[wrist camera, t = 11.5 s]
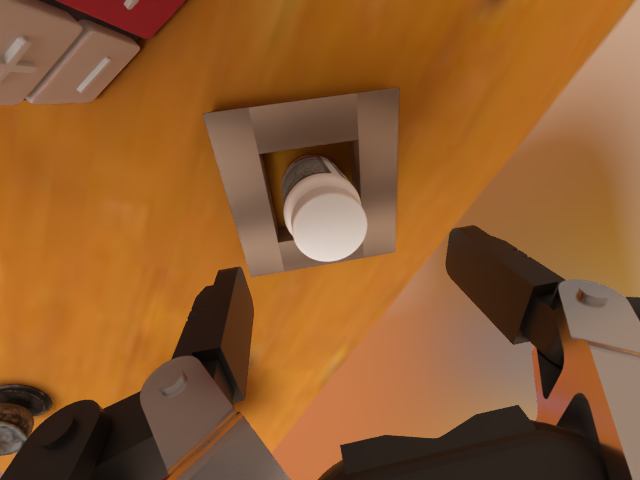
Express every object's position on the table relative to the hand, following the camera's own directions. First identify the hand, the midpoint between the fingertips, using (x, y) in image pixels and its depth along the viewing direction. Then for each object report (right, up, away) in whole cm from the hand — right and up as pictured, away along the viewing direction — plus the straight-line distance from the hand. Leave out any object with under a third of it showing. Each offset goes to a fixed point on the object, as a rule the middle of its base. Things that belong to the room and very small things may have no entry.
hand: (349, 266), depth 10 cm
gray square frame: (-2, +5, +11) cm, 12 cm away
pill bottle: (-2, +5, +11) cm, 13 cm away
